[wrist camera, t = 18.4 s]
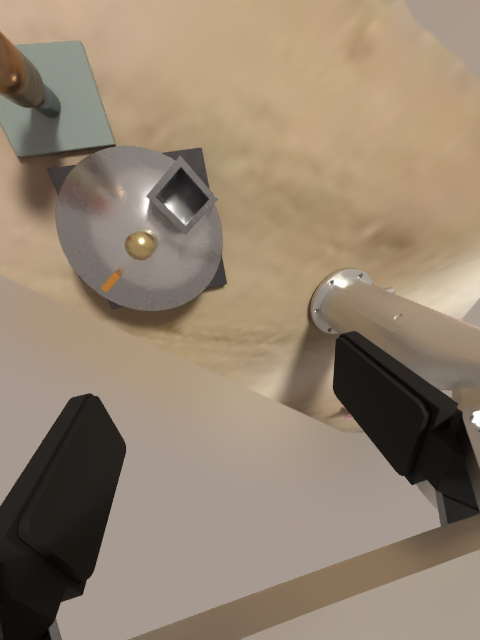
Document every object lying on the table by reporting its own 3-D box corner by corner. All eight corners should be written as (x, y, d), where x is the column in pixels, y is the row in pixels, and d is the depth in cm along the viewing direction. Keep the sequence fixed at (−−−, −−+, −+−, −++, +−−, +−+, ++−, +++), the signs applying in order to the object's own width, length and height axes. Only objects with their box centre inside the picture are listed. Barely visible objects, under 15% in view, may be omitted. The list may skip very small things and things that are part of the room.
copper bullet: (55, 75, 22) (-29, -14, 13) (74, 122, 24) (11, 70, 15) (16, 80, 22) (-98, -8, 13) (38, 127, 23) (-48, 78, 15)
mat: (82, 44, 22) (80, 40, 22) (116, 145, 26) (114, 143, 25) (-32, 52, 21) (-37, 48, 20) (20, 157, 24) (17, 156, 24)
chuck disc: (161, 328, 32) (156, 356, 26) (30, 237, 24) (-21, 247, 18) (247, 239, 29) (264, 247, 23) (131, 105, 22) (110, 64, 15)
